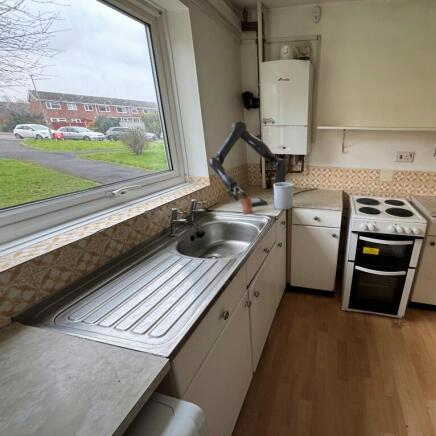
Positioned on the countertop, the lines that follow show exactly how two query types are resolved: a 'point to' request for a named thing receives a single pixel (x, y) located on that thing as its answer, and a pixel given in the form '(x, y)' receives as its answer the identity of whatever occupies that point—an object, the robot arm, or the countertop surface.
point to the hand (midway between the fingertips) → (242, 198)
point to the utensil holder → (283, 195)
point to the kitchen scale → (258, 202)
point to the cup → (247, 205)
